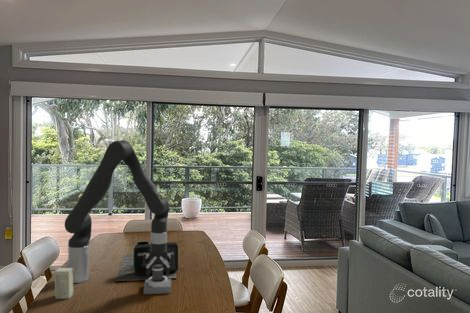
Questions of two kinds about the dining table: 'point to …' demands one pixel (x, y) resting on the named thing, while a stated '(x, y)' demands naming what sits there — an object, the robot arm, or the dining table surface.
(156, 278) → the lens
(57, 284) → the skincare box
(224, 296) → the dining table surface
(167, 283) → the mount block
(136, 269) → the camera
